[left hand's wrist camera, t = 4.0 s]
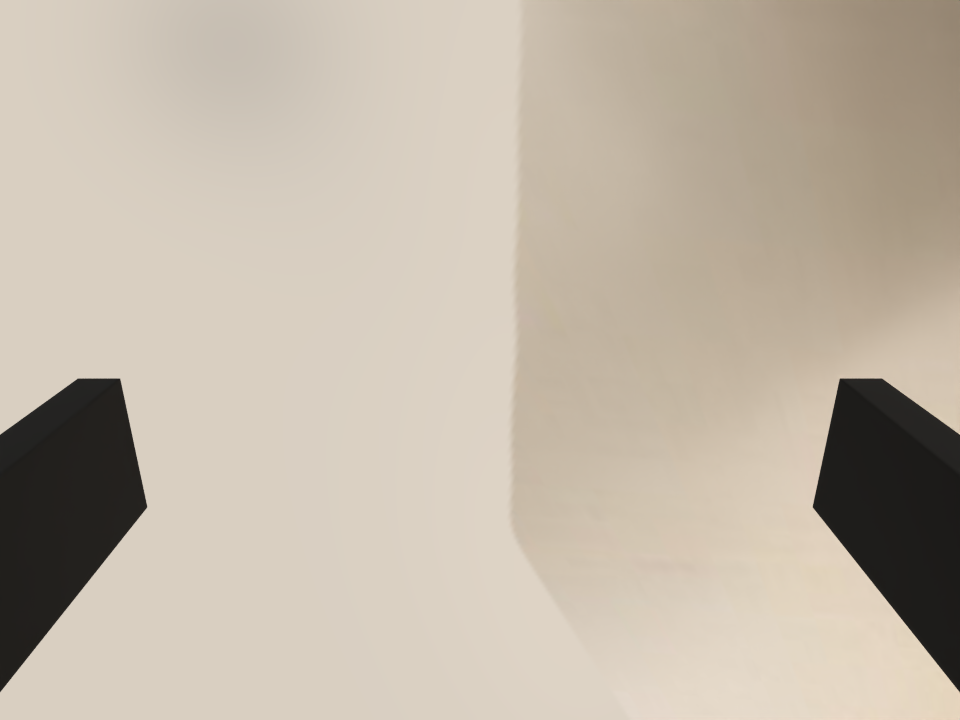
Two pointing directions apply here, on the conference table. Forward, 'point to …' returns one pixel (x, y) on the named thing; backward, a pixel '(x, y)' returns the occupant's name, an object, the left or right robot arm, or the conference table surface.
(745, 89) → the conference table surface
